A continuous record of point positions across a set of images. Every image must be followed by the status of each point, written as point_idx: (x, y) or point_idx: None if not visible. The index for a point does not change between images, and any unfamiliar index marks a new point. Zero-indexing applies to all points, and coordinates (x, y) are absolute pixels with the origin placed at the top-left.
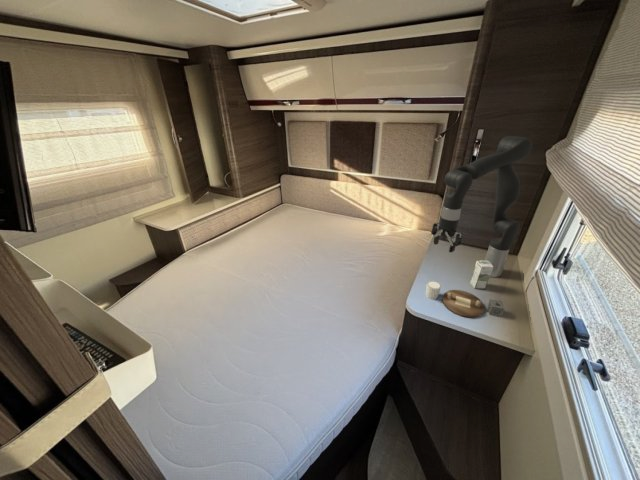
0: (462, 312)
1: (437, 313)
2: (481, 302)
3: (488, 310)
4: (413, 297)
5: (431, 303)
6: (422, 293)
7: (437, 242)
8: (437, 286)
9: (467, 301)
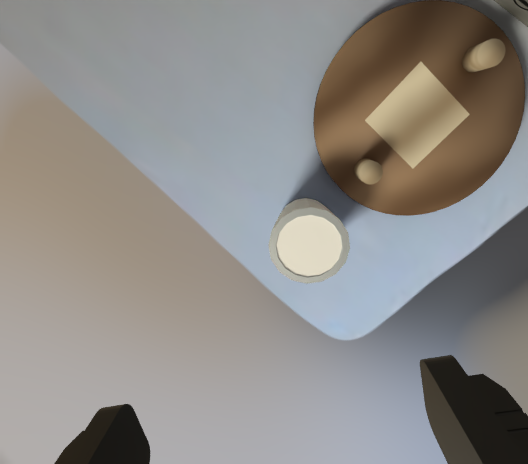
0: (476, 176)
1: (414, 269)
2: (464, 11)
3: (513, 11)
4: (291, 305)
5: (351, 256)
6: None
7: (120, 441)
8: (327, 236)
9: (424, 89)
